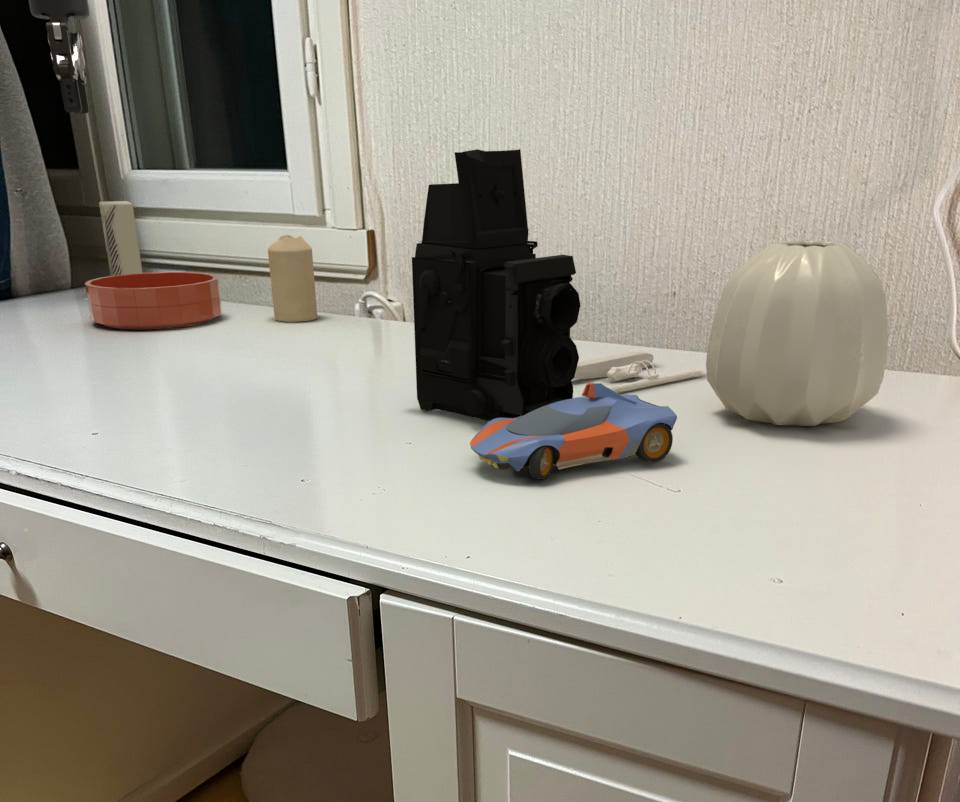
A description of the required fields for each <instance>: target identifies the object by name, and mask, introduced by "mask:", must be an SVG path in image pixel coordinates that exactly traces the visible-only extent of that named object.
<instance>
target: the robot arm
mask: <svg viewBox="0 0 960 802" xmlns="http://www.w3.org/2000/svg"><path fill="white" fill-rule="evenodd" d="M28 4H29V5H28V6H29V10H30V13H31V15H32V16H33V17H35V18H37V19H41V20H42V19H43V20H49V21H46V23H45V30H46V31H47V41H48V45H49V48H50V57H51V61H52V70H53V72H54V74H55V77H56V78H57V80H58V81H59V85H60V86H59V87H60V92H61V96H62V103H63V108H64V110H65V112H66V113H74V114H77V115H78V114H79V115H80V114H81V115H82V114H88V113H90V106H89V101H88V100H89V99H88V95H87V87H86V84H87V76H88V74H87V73H88V72H86V61H85V60H86V59H85V56H84V51H83V40H82V36H81V34H80V33H79V31H78V30H75V25H74V22H75V20H86V19H88V18H89V17H90V8H89V2H88V0H28Z"/></svg>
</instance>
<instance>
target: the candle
mask: <svg viewBox="0 0 960 802" xmlns="http://www.w3.org/2000/svg"><path fill="white" fill-rule="evenodd" d="M267 255H268V265H269V266H268V267H269V275H270V277H269V278H270V285H271V296H272V305H273V306H272V307H273V316H274V319H275V321H279V322H286V323H287V322H288V323H296V322H297V323H298V322H307V321H308V322H309V321H312V320H316V319H317V318H318V307H317V305H318V304H317V296H316V295H317V293H316V282H315V281H316V280H315V270H314V259H313V258H314V257H313V247H312V246H311V245H309V243H307V241H306V240H305V239H304V238H303V236H302V235H300V236H297V237H294V236H292V235H291V234H285V235H282V236H280V237H279V238H278V239H277V240H276V241H274V242H273V243H271V244H270V246H269V247H268V248H267Z"/></svg>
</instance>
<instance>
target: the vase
mask: <svg viewBox="0 0 960 802" xmlns="http://www.w3.org/2000/svg"><path fill="white" fill-rule="evenodd" d="M887 307H888V306H887V299H886V294H885V290H884V286H883V282H882V280H881V279H880V277H879V275H878V274H877V272H876V271H875V270H874V269H873V267H871V265H870V264H869V263H868V262H867V261H866V260H865V259H864V258H863V257H862V256H861V255H860V254H859V253H857V251H855V250H854V249H852V248H851V247H850V246H849V245H846V244H845V243H840V242H837V241H826V240H824V241H823V240H786V241H778V242H774V243H771V245H769V246H767V247H765V248H764V249H762V250H760V251H759V252H758V253H756V254H755V255H754V256H751V258H750V259H748V260H747V261H746V262H744V263H743V264H742V265H741V266H740V267H738V269H736V270H735V271H734V272H733V273H732V274H731V275H730V277H729V279H728V281H727V282H726V283H725V286H724V288H723V289H722V292H721V295H720V297H719V301H718V303H717V306H716V310H715V313H714V317H713V321H712V324H711V328H710V333H709V337H708V343H707V349H706V361H705V371H706V381H707V382H708V384H709V386H710V388H711V389H712V390H713V392H714V393H715V395H716V397H717V398H718V399H719V401H720V402H721V404H722V405H723V406H724V407H725V408H726V410H727V411H729V412H731V413H732V414H736V415H739V416H741V417H742V418H743V419H745V420H748V421H752V422H758V423H759V422H760V423H767V424H772V425H776V426H800V427H816V426H818V425H821V424H822V425H823V424H824V425H825V424H832V423H833V424H834V423H841V422H844V421H845V420H847V419H849V418H851V416H852V415H854V414H855V413H857V412H858V411H859V410H860V409H861V408H863V407H864V406H865V405H866V404H867V403H868V402H870V401H871V400H873V399H874V397H876V396H877V395H878V394H879V391H880V388H881V386H882V383H883V381H884V377H885V376H884V375H885V372H886V364H887V360H888V359H887V358H888V357H887V356H888V341H889V340H888V338H889V334H888V332H889V331H888V329H889V328H888V327H889V326H888V308H887Z"/></svg>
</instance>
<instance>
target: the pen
mask: <svg viewBox="0 0 960 802" xmlns="http://www.w3.org/2000/svg"><path fill="white" fill-rule="evenodd" d="M642 360H647V361H649V362H651V363H652V364H653V361H654V355H653V354H652V353H650V352H648V351H644V350H641V351H640V350H639V351H627V352H622V353H618V354H612V355H608V356H603V357H598V358H593V359H588V360H583V361H578V364H577V368H576V372H575V376H574V378H573V379H572V380H584V379H586V380H587V379H598V378H605V377H608V376H607V372H608V371H610V369H611V368H612V367H621V366H627V365H630V364H631V363H634V362H636V361H642ZM638 363H639V362H638ZM638 363H635V364H638ZM643 363H644V364H645V365H646V366H647V368H648V367H649V366H651V364H650V363H648V362H646V361H643ZM639 366H640V367H642V369H646V367H645V366H644V365H643V364H642V363H640V364H639Z"/></svg>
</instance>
